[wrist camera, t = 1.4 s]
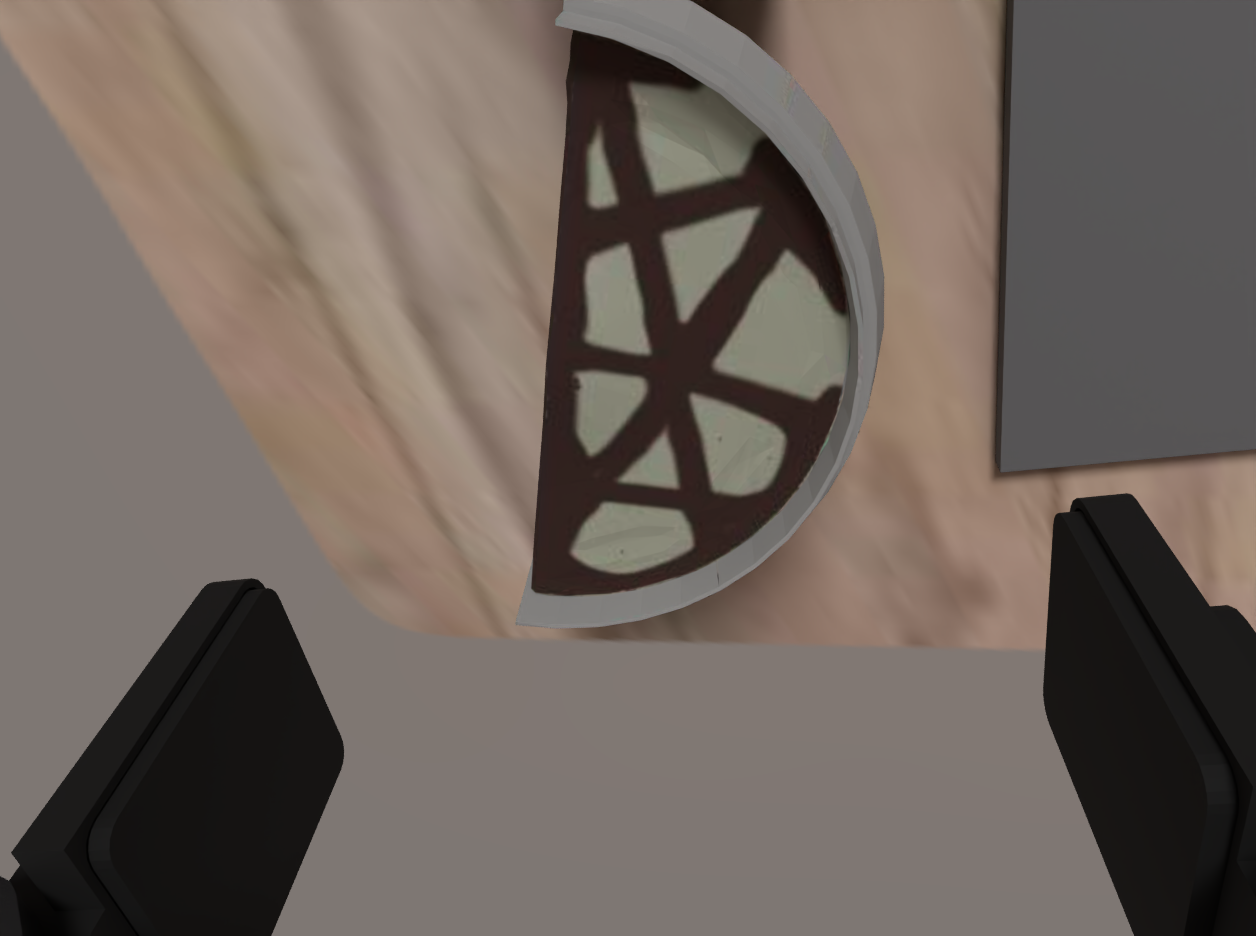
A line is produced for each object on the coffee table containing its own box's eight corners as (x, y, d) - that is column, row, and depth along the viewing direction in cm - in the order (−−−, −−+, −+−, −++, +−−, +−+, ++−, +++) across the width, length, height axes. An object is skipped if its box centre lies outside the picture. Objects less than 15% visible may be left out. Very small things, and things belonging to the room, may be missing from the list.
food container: (789, 444, 28) (812, 690, 20) (580, 414, 28) (513, 645, 20) (899, -26, 22) (1005, 37, 13) (627, -63, 22) (558, -23, 13)
